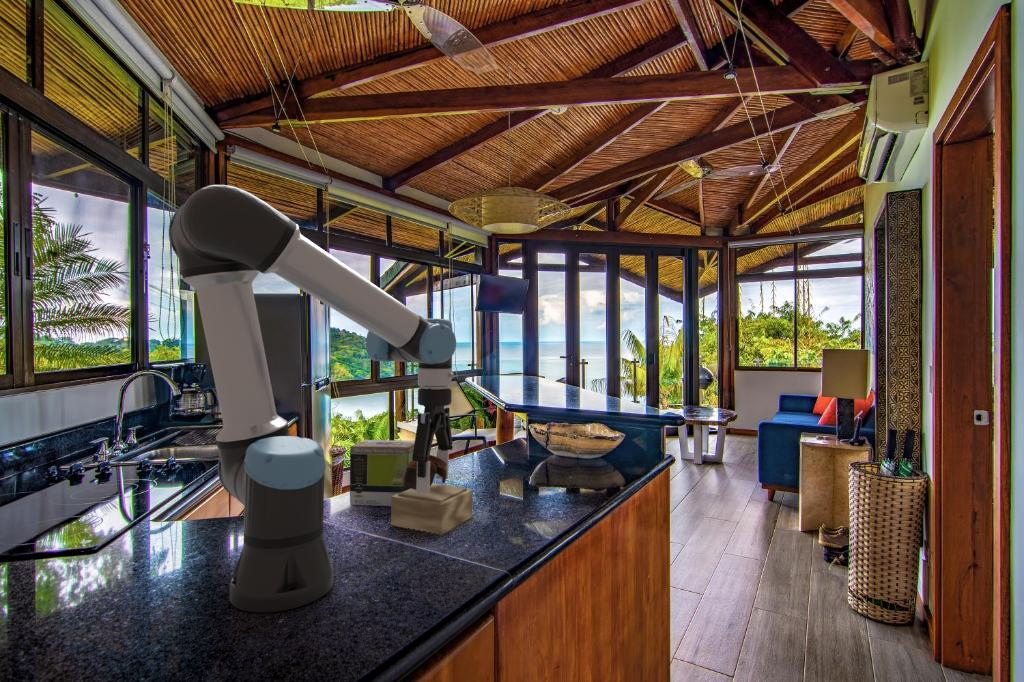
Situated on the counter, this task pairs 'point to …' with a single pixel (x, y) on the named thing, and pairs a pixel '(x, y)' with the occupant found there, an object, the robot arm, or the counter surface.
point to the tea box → (378, 470)
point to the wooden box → (432, 508)
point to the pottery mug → (435, 468)
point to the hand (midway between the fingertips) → (433, 484)
